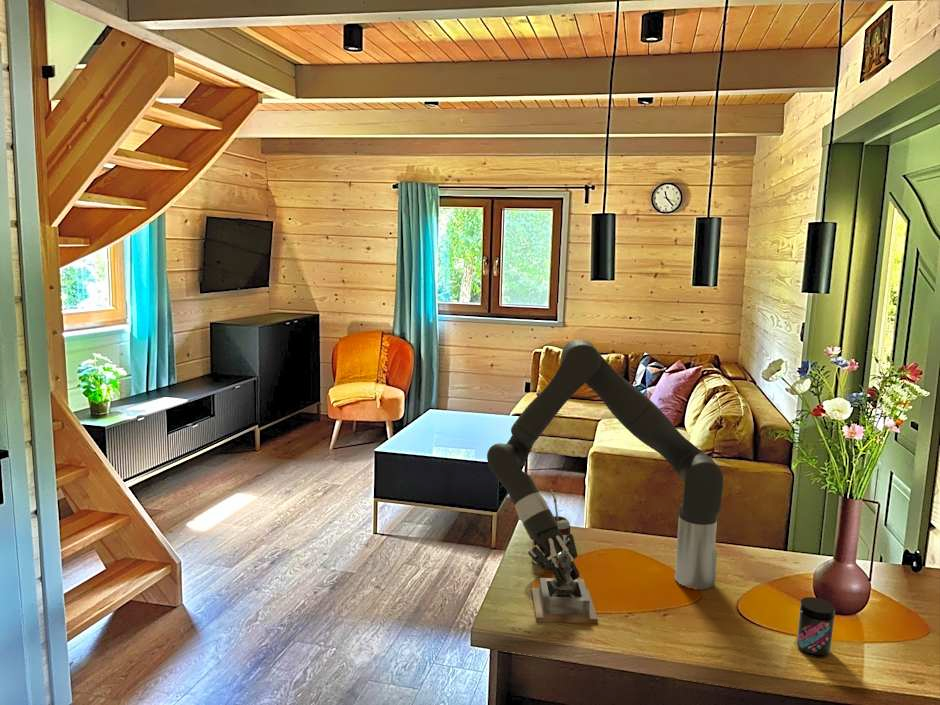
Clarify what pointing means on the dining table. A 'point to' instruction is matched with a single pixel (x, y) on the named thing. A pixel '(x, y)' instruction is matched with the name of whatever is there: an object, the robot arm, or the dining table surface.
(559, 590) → the grey tall ringed piece
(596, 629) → the dining table surface
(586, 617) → the block
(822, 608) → the supplement container
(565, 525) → the mate gourd
